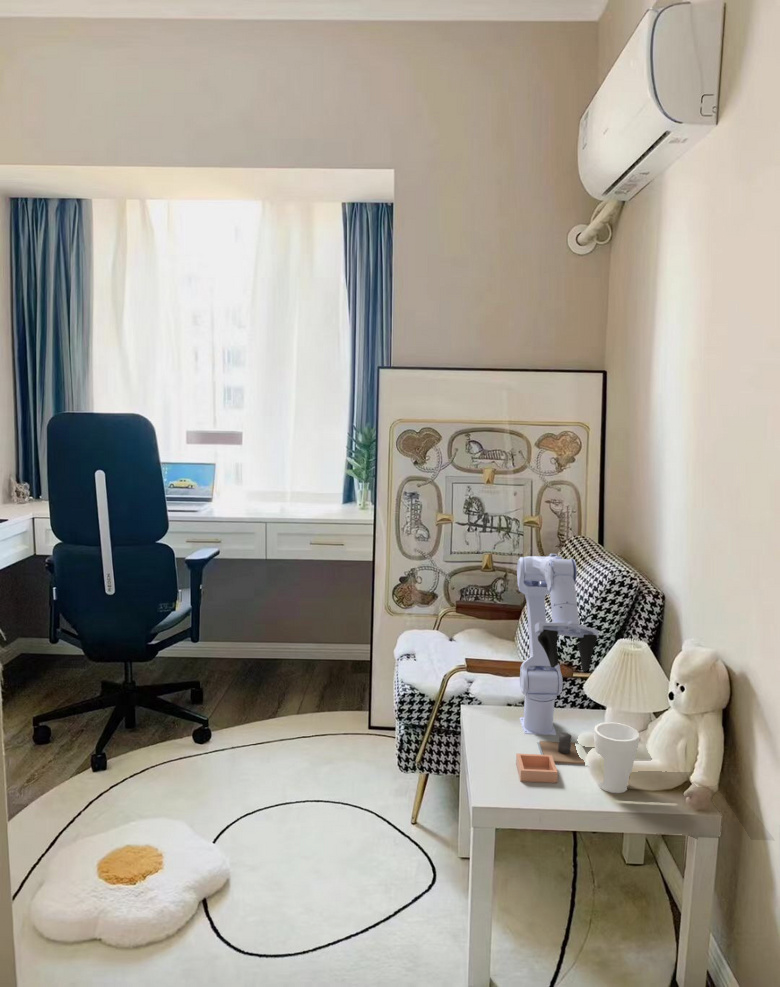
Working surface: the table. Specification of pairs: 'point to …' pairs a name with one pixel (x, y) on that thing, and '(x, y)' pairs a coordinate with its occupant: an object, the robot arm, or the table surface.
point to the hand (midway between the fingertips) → (570, 667)
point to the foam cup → (616, 753)
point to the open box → (536, 768)
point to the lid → (562, 750)
